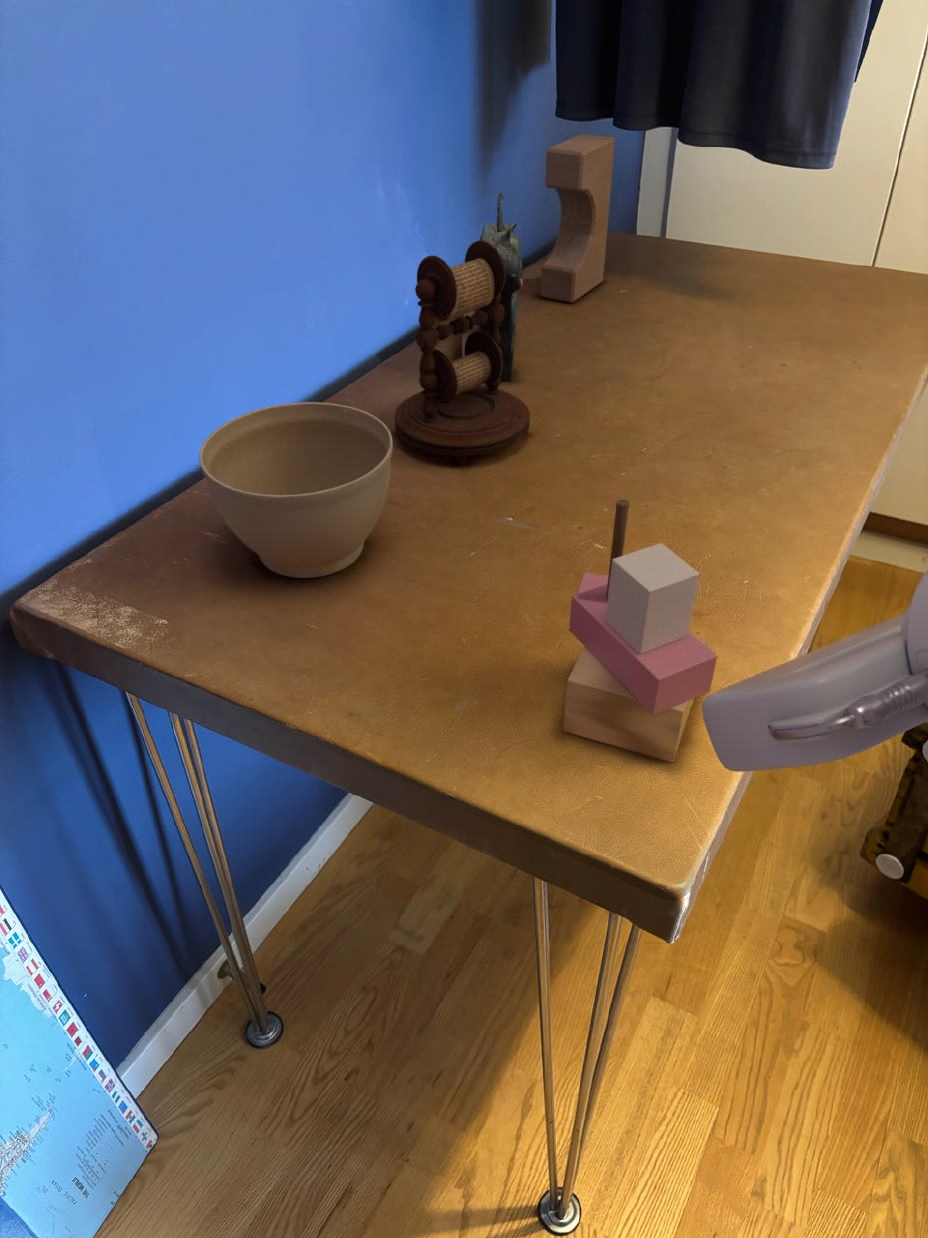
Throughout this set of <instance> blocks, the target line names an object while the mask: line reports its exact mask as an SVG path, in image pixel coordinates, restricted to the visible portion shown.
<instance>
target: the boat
mask: <svg viewBox="0 0 928 1238" xmlns="http://www.w3.org/2000/svg"><path fill="white" fill-rule="evenodd" d="M629 508H630V501H628V500H627V499H618V500H617V501H616V505H615V513H614V514H615V515H614V522H613V530H612V531H613V532H612V542H611V551H610V558H609V568H608V575H604V574H599V573H592V572H586V571H584V572H583V574H582V577H581V580H580V583H579V585H578V589H577V591H576V594H573V595H572V596H571V605H570V616H569V626H568V631H569V632H570V633H571V634H572V635H573V636H574V637H575V638H576V639H577V640H578V641H579V642H580V643H581V644H582V645H583V647H584V646H585V647H586V648H587V649H588V650H589V651H590V652H591V653H592V654H593V655H594V656H595V657H596V658H597V659H598V660H599V661H600V662H601V663H602V664H603V665H604V666H605V667H606V668H607V669H608V670H609V671H610V672H611V673H612V675H613V676H614V677H615V678H616V679H617V680H618V681H619V682H620V683H621V684H622V685H623V686H624V687H625V688H626V689H627V690H628V691H629V692H630V693H631V694H632V695H633V696H634V697H635V698H636V699H637V700H638V701H639V702H640V703H641V704H642V705H643V706H644V707H645V708H646V709H647V710H648V711H649V712H650V713H651V714H652V715H655V714H657V713H660V712H662V711H664V710H667V709H669V708H671V707H674V706H676V705H679V704H681V703H683V702H686V701H688V700H691V699H693V698H694V699H695V698H697V697H700V696H702V695H705V694H707V693H709V692H711V689H712V683H713V678H714V674H715V669H716V665H717V660H718V655H717V654H716V653H715V652H713V650H711V649H710V648H709V647H707V645H706V646H705V645H704V644H703V643H702V642H701V641H700V640H698V639H697V638H696V637H697V636H696V635H694V634H693V633H692V632H690V628H691V623H692V617H693V612H694V607H695V601H696V597H697V592H698V586H699V580H700V577H701V576H700V575H701V573H700V572H699V571H698V570H696V569H695V568H694V567H693V566H691V565H690V564H689V563H687V562H686V561H685V560H683V558H681V557H680V556H679V555H677V554H676V553H675V552H674V551H672V550H671V548H669V547H667V546H666V545H665V544H663V543H662V542H659V543H656V544H654V545H651V546H647V547H645V548H641V549H638V550H636V551H633V552H630V553H627V554H624V549H625V542H626V541H625V539H626V531H627V524H628V515H629Z"/></svg>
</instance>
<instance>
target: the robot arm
mask: <svg viewBox="0 0 928 1238" xmlns="http://www.w3.org/2000/svg"><path fill="white" fill-rule="evenodd" d="M701 705H702V707H701V712H702V718H703V721H704V726H705V728H706V731H707V735H708V738H709V740H710V742H711V745H712V748H713V750H714V753H715V754H716V756H717V758H718V760H719V762H720V764H721V765H722V766H723V767H724V769H726V770H728V771H731V772H737V773H742V772H743V773H744V772H757V771H758V772H759V771H771V770H780V769H781V770H782V769H791V768H801V767H808V766H815V765H821V764H825V763H831V762H835V761H838V760H843V759H846V758H849V757H852V756H855V755H857V754H860V753H862V752H865V751H867V750H870V749H872V748H874V747H876V746H878V745H880V744H882V743H885V742H887V741H889V740H891V739H893V738H894V737H897V736H898V735H901V734H903V733H905V732H907V731H909V730H911V729H913V728H916V727H918V726H920V725H922V724H924V723H926V722H928V570H926V572H925V573H924V574H923V576H922V577H921V579H920V580H919V582H918V584H917V585H916V588H915V590H914V591H913V595H912V597H911V599H910V603H909V606H908V607H907V609H906V611H905V612H904V613H901V614H899V615H897V616H894V617H892V618H889V619H886V620H885V621H882V622H880V623H878V624H877V623H876V624H875V625H872V626H870V627H867V628H865V629H863V630H861V631H858V632H855V633H853V634H851V635H848V636H846V637H844V638H842V639H839V640H836V641H834V642H831V643H829V644H827V645H824V646H821V647H819V648H817V649H815V650H812V651H810V652H807V653H806V654H802V655H800V656H798V657H796V658H793V659H791V660H788V661H786V662H783V663H781V664H779V665H776V666H774V667H772V668H769V669H767V670H764V671H762V672H759V673H757V674H755V675H752V676H750V677H747V678H745V679H742V680H740V681H738V682H735V683H733V684H730V685H728V686H725V687H724V688H723V687H722V688H720V689H719V690H716V691H713V692H711V693H710V694H709V695H707V696H706V697H704V699H703V701H702V704H701Z"/></svg>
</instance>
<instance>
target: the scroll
mask: <svg viewBox="0 0 928 1238" xmlns="http://www.w3.org/2000/svg"><path fill="white" fill-rule="evenodd" d="M479 240H480V239H479ZM479 240H476V241H473V242H474V243H473V242H472V243H471V244H470V245H469V246H468V248H467V250H466V253H465V257H464V263H460V264H456V265H454V266H450V265H449V264H448V263H447V262H446V261H445V260H444V259H443V258H441V257H439V256H438V255H428V256H425V257H424V258H422V260H421V261H420V263H419V265H418V267H417V272H416V285H415V287H414V291H415V295H416V297H417V298H418V299H419V301H417V306H418V307H420V310H419V311H420V312H419V316H418V324H419V326H420V327H419V328H418V329H417V331H416V333H415V342H416V345H417V346H418V347H419V351H420V352H421V357H420V360H419V364H418V365H419V368H418V369H419V378H418V382H419V385H420V387H421V388H422V389H423V390H421V391H419V392H417V393H415V394H413V395H411V396H409V397H408V398H406V399H404V400H403V402H401V403H400V404H399V406H398V407H397V408H396V410H395V413H394V427H395V431H396V433H397V435H398V436H399V438H400V439H402V440H403V441H404V442H405V443H407V444H408V445H410V446H411V447H414V448H416V449H418V450H422V451H425V452H429V453H434V454H439V455H443V456H444V455H445V456H455V457H456V461H457V463H458V465H460V466H464V465H465V463H466V461H467V458H468V456H475V455H484V454H490V453H494V452H497V451H501V450H503V449H507V448H508V447H512V446H513V445H515V444H517V443H518V442H519V441H521V440H522V439H523V438H524V437H525V436H526V435H527V433H528V432H529V429H530V427H531V425H530V424H531V421H530V420H531V414H530V413H531V412H530V410H529V408H528V406H527V404H525V402H524V401H523V400H521V399H520V398H519V397H517V396H515V395H514V394H512V393H509V392H507V391H505V390H503V389H500V388H499V387H500V385H501V383H502V381H501V380H500V376H501V373H502V368H503V361H502V351H501V349H500V348H499V347H498V344H499V342H500V334H499V331H498V326H500V324H501V323H500V322H501V321H502V319H503V317H504V314H505V312H504V308H503V306H502V305H501V304H500V303H498V302H499V301H500V299H501V291H502V289H503V287H504V283H505V267H504V263H503V260H502V258H501V256H500V254H499V252H498V251H497V249H496V248H495V247H494V246H493V245H492V244H490V243H489V242H487V241H482V240H480V241H479ZM481 307H484V309H483V311H478V312H476V313H475V312H474V313H473V314H472V315H471V316H470V315H465V314H468V313H470V312H473V311H474V310H476V309H479V308H481ZM486 322H487V323H486ZM485 323H486V324H487V326H489V330H488V334H487V333H484V332H481V331H479V330H477V331H474V332H471V333H470V334H469V335H468V337H467V338H466V340H465V343H464V348H463V340H464V339H463V338H464V334H466V333H467V332H468V331H471V330H472V329H473V328H474V326H475V327H476V326H477V327H478V326H481V325H484V324H485ZM463 349H464V355H463Z"/></svg>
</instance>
